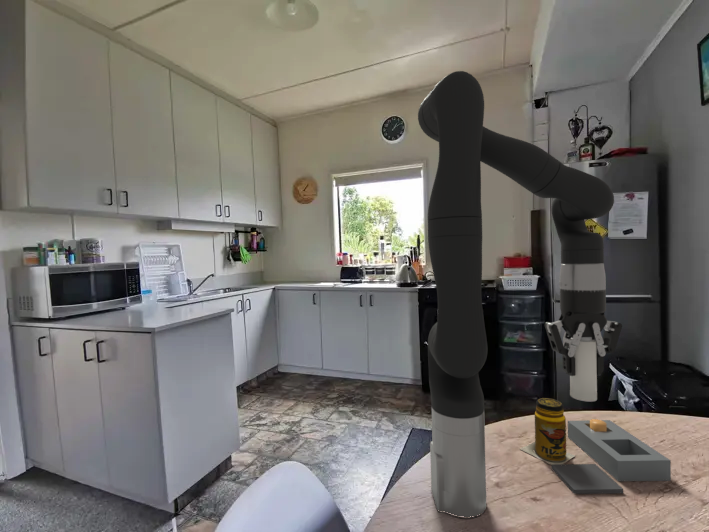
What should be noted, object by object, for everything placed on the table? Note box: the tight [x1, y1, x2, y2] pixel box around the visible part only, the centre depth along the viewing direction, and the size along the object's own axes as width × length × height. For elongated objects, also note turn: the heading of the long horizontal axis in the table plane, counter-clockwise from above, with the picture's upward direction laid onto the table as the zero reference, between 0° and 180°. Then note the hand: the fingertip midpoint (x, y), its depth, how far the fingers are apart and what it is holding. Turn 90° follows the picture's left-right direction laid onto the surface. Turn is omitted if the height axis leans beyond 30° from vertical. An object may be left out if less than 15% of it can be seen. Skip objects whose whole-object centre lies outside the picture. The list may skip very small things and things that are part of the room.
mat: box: [550, 463, 624, 495], centre depth 70 cm, size 9×8×1 cm
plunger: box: [590, 418, 607, 432], centre depth 82 cm, size 3×3×5 cm
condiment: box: [520, 397, 575, 466], centre depth 79 cm, size 7×8×12 cm
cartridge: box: [569, 337, 598, 403], centre depth 69 cm, size 4×4×12 cm
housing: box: [567, 419, 672, 482], centre depth 77 cm, size 10×17×4 cm, turn 179°
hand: (583, 374), depth 69 cm, fingers closed on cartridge, 4 cm apart
